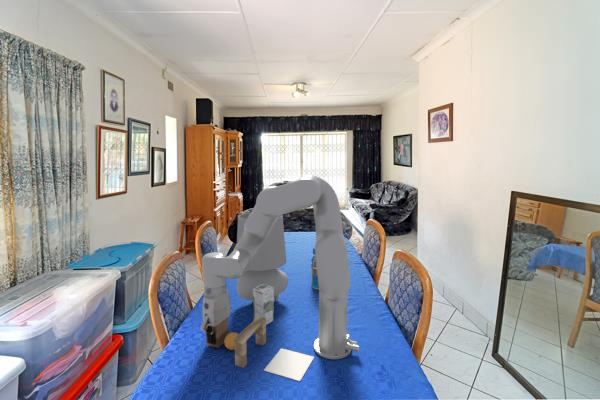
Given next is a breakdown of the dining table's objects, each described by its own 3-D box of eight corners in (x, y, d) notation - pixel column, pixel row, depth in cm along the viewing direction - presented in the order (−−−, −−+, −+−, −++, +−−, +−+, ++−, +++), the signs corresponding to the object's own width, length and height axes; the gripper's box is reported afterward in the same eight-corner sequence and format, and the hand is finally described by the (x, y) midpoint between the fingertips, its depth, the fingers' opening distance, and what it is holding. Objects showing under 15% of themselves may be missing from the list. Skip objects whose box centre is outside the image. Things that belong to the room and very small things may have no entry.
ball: (229, 328, 113) (232, 343, 114) (219, 336, 108) (222, 352, 109) (242, 329, 111) (245, 345, 111) (232, 338, 106) (235, 354, 106)
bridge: (266, 342, 114) (265, 318, 112) (243, 367, 100) (242, 340, 99) (258, 340, 115) (258, 316, 113) (235, 365, 102) (234, 338, 100)
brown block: (228, 338, 115) (227, 317, 114) (218, 348, 109) (217, 326, 108) (217, 335, 117) (216, 314, 115) (206, 344, 111) (205, 323, 110)
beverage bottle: (308, 284, 163) (308, 245, 160) (324, 282, 165) (324, 244, 162) (314, 291, 155) (314, 250, 152) (330, 288, 157) (331, 249, 154)
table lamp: (282, 289, 157) (281, 208, 151) (295, 310, 137) (295, 217, 130) (234, 296, 150) (231, 211, 144) (240, 319, 129) (237, 221, 123)
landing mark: (314, 357, 105) (314, 356, 105) (299, 381, 94) (299, 380, 94) (281, 348, 110) (281, 348, 110) (263, 370, 99) (263, 370, 99)
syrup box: (263, 316, 131) (263, 282, 129) (274, 321, 128) (273, 286, 125) (253, 322, 127) (252, 287, 125) (263, 327, 123) (263, 291, 121)
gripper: (207, 301, 101) (210, 354, 103) (238, 281, 116) (240, 327, 119) (188, 297, 104) (192, 349, 106) (221, 278, 119) (224, 323, 122)
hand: (217, 337), depth 113 cm, fingers closed on brown block, 6 cm apart
